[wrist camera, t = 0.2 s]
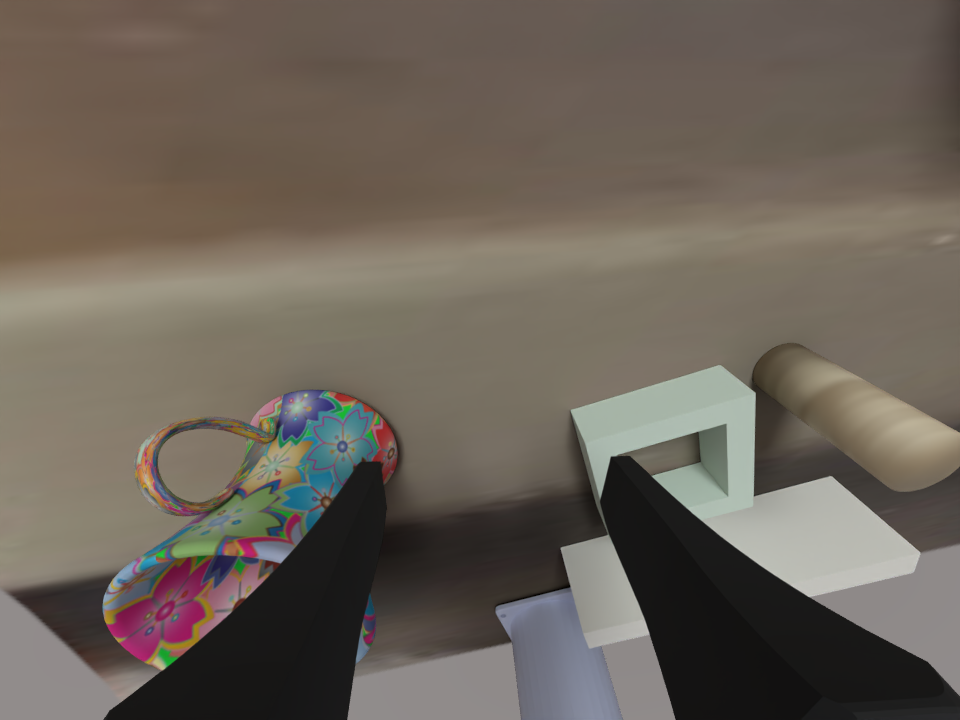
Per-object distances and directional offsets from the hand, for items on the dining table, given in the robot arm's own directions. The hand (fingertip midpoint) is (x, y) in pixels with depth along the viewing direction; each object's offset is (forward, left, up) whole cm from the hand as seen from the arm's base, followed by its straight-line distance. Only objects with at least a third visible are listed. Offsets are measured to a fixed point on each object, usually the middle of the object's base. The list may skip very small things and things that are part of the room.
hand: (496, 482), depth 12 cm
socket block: (-11, -8, -10) cm, 17 cm away
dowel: (-8, -16, -10) cm, 21 cm away
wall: (-20, -10, -10) cm, 24 cm away
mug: (-2, +11, -10) cm, 15 cm away
